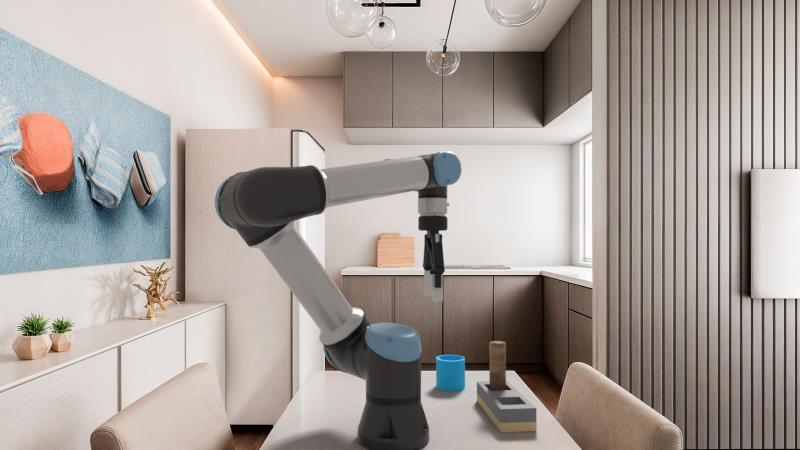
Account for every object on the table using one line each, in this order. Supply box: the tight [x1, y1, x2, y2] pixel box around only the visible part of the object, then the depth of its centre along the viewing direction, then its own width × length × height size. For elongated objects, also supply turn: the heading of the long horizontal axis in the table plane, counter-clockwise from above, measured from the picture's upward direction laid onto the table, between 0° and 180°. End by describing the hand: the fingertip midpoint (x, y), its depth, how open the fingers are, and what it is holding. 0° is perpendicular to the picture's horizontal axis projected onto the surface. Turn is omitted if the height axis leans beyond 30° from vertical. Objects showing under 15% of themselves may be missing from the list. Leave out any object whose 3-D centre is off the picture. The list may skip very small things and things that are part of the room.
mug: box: [435, 354, 466, 392], centre depth 152 cm, size 12×8×8 cm
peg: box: [488, 340, 507, 391], centre depth 132 cm, size 4×4×14 cm
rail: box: [476, 380, 538, 433], centre depth 126 cm, size 22×8×5 cm, turn 5°
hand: (433, 298), depth 136 cm, fingers open, 13 cm apart
